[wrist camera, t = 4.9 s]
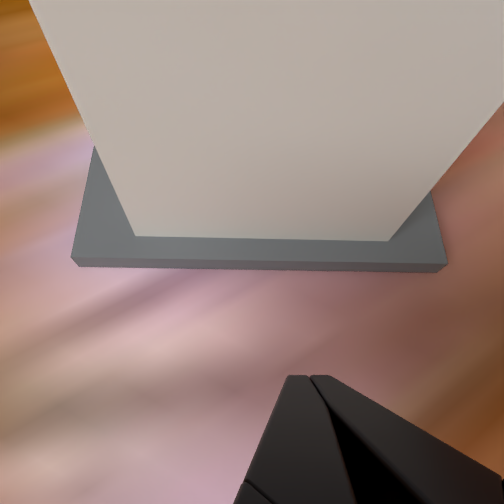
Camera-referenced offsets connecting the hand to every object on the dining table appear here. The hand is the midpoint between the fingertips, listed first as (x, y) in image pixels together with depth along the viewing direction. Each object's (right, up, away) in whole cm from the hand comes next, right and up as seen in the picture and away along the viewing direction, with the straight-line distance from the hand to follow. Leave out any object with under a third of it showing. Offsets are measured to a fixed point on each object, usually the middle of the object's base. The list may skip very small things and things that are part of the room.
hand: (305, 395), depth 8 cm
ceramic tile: (-1, +5, +10) cm, 11 cm away
